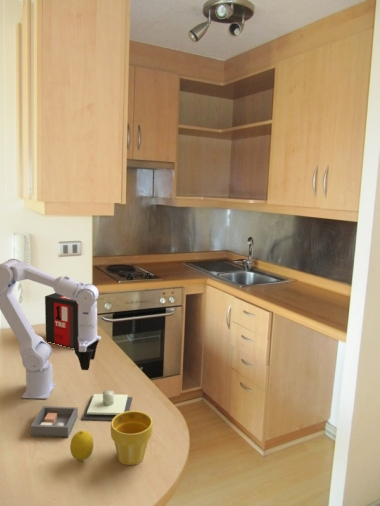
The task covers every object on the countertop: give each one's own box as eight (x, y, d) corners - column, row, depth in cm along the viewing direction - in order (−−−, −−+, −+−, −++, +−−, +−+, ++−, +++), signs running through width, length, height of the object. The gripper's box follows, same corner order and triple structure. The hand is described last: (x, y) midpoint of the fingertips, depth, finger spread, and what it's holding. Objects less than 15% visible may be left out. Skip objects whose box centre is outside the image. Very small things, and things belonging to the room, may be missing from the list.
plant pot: (153, 469, 103) (154, 432, 101) (110, 472, 101) (110, 435, 99) (150, 442, 113) (151, 409, 111) (111, 445, 111) (111, 411, 109)
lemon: (95, 453, 108) (95, 424, 106) (90, 468, 102) (90, 438, 101) (73, 453, 107) (73, 424, 106) (67, 467, 102) (67, 437, 101)
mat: (91, 396, 135) (91, 395, 135) (132, 398, 135) (132, 397, 135) (81, 419, 122) (81, 418, 122) (126, 421, 122) (126, 420, 122)
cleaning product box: (46, 342, 177) (45, 296, 173) (60, 335, 185) (59, 291, 181) (77, 350, 170) (77, 302, 167) (91, 342, 178) (91, 297, 175)
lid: (94, 397, 133) (94, 383, 133) (127, 398, 134) (128, 384, 133) (86, 416, 123) (86, 401, 122) (123, 417, 123) (123, 402, 122)
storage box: (43, 415, 123) (43, 406, 123) (77, 416, 123) (77, 407, 123) (30, 436, 114) (30, 426, 113) (68, 437, 114) (67, 427, 113)
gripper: (95, 332, 125) (95, 375, 127) (105, 316, 139) (105, 355, 142) (71, 331, 125) (72, 374, 127) (83, 315, 139) (84, 354, 142)
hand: (88, 364), depth 134 cm, fingers open, 7 cm apart
